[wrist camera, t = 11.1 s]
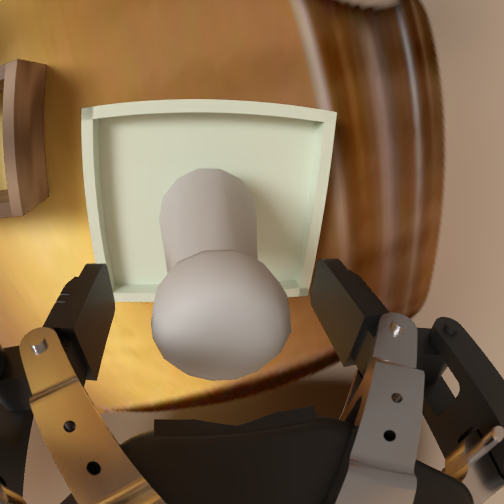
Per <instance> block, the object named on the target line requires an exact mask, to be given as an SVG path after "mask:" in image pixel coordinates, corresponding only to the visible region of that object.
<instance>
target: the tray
mask: <svg viewBox="0 0 504 504" xmlns="http://www.w3.org/2000/svg"><path fill="white" fill-rule="evenodd" d="M336 115H337V112H332V111H326V110H320V109H314V108H307V107H300V106H292V105H284V104H275V103H265V102H252V101H237V100H210V99H181V100H154V101H139V102H127V103H117V104H108V105H100V106H93V107H87V108H81V136H82V161H83V176H84V187H85V197H86V206H87V214H88V221H89V228H90V234H91V240H92V246H93V251H94V257H95V262H96V264H102V263H105V264H106V265H107V268H108V272H109V277H110V281H111V286H112V291H113V295H114V300H115V302H154V299H155V295H156V291H157V287H158V286H159V284H160V283H161V282H162V280H163V279H164V278H165V277H166V275H167V274H168V272H167V266H166V260H165V254H164V248H163V242H162V235H161V228H160V221H159V215H160V210H161V205H162V200H163V196H164V195H165V193H166V192H167V191H168V190H169V188H170V187H171V186H172V184H173V183H174V182H175V181H176V179H177V178H179V177H181V176H183V175H185V174H187V173H189V172H192V171H194V170H196V169H199V168H209V169H222V170H224V171H226V172H228V173H230V174H232V175H234V176H236V177H238V178H239V179H241V180H242V181H243V183H244V184H245V185H246V187H247V188H248V189H249V191H250V192H251V193H252V195H253V196H254V201H255V208H256V215H257V256H258V260H259V261H260V262H262V263H264V264H265V266H266V267H267V268H268V269H269V270H270V272H271V273H272V274H273V275H274V276H275V278H276V279H277V280H278V281H279V283H280V284H281V286H282V287H283V289H284V291H285V292H286V294H287V297H299V296H308V293H309V288H310V284H311V279H312V274H313V269H314V263H315V258H316V253H317V248H318V242H319V236H320V231H321V225H322V219H323V213H324V207H325V200H326V194H327V187H328V180H329V173H330V166H331V158H332V151H333V142H334V134H335V125H336Z"/></svg>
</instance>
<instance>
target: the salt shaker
mask: <svg viewBox="0 0 504 504" xmlns="http://www.w3.org/2000/svg"><path fill="white" fill-rule="evenodd" d="M159 221H160V228H161V235H162V242H163V248H164V254H165V260H166V266H167V272H168V274H167V275H166V277H165V278H164V279H163V280H162V282H161V283H160V284H159V286H158V287H157V291H156V295H155V299H154V306H153V313H152V321H151V327H152V335H153V339H154V341H155V343H156V345H157V347H158V349H159V350H160V352H161V354H162V356H163V358H164V359H166V360H167V361H168V362H170V363H171V364H172V365H174V366H175V367H177V368H178V369H180V370H181V371H182V372H184V373H186V374H188V375H190V376H194V377H198V378H203V379H207V380H211V381H214V380H232V379H238V378H241V377H243V376H246V375H249V374H251V373H254V372H257V371H258V370H260V369H261V368H262V367H263V366H265V365H266V364H267V363H269V362H270V361H271V360H272V359H274V358H275V357H276V356H277V355H278V354H279V353H280V352H281V351H282V349H283V347H284V345H285V343H286V341H287V339H288V337H289V335H290V333H291V325H290V311H289V304H288V299H287V294H286V292H285V291H284V289H283V287H282V286H281V284H280V283H279V281H278V280H277V279H276V278H275V276H274V275H273V274H272V273H271V272H270V270H269V269H268V268H267V267H266V266H265V264H264V263H262V262H260V261H259V260H258V256H257V215H256V208H255V201H254V196H253V195H252V193H251V192H250V191H249V189H248V188H247V187H246V185H245V184H244V183H243V181H242V180H241V179H239V178H238V177H236V176H234V175H232V174H230V173H228V172H226V171H224V170H222V169H209V168H199V169H196V170H194V171H192V172H189V173H187V174H185V175H183V176H181V177H179V178H177V179H176V181H175V182H174V183H173V184H172V186H171V187H170V188H169V190H168V191H167V192H166V193H165V195H164V196H163V200H162V205H161V210H160V215H159Z"/></svg>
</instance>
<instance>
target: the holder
mask: <svg viewBox="0 0 504 504" xmlns="http://www.w3.org/2000/svg"><path fill="white" fill-rule="evenodd" d="M45 75H46V65H45V64H40V63H36V62H31V61H25V60H20V59H16V60H14V61H11V62H9V63H6V64H4V65H2V66H0V92H2V91H3V148H4V161H5V172H6V180H7V188H8V189H7V190H1V191H0V218H6V217H15V216H23V215H25V214H26V213H27V212H29V211H30V210H31V209H33V208H34V207H35V206H37V205H38V204H39V203H41V202H42V201H44V200H45V199H46V198H48V197H49V192H48V183H47V174H46V163H45V147H44V90H45Z"/></svg>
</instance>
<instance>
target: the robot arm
mask: <svg viewBox="0 0 504 504" xmlns="http://www.w3.org/2000/svg"><path fill="white" fill-rule="evenodd" d="M311 305H312V307H313V309H314V311H315V313H316V315H317V317H318V319H319V321H320V322H321V324H322V326H323V328H324V330H325V332H326V334H327V335H328V337H329V339H330V341H331V343H332V345H333V347H334V349H335V351H336V353H337V354H338V356H339V358H340V360H341V362H342V364H343V366H344V367H346V366H351V365H356V366H357V367H358V369H357V371H356V373H355V376H354V379H353V382H352V386H351V389H350V392H349V395H348V398H347V401H346V404H345V407H344V410H343V413H342V415H341V417H340V419H335V418H331V417H324V416H317V414H316V412H315V409H314V407H313V406H310V407H306V408H300V409H294V410H288V411H282V412H276V413H273V414H271V415H268V416H265V417H263V418H260V419H257V420H254V421H251V422H249V423H246V424H243V425H238V426H232V425H225V424H218V423H212V422H206V421H200V420H195V419H193V420H154V430H152V431H148V432H145V433H141V434H139V435H136V436H134V437H132V438H130V439H129V440H127V441H125V442H124V443H122V444H121V445H120V444H119V442H118V441H117V439H116V438H115V437H114V435H113V434H112V433H111V431H110V430H109V428H108V426H107V425H106V424H105V422H104V421H103V419H102V417H101V416H100V414H99V412H98V411H97V409H96V408H95V406H94V404H93V403H92V401H91V399H90V397H89V396H88V394H87V392H86V390H85V389H84V384H85V380H95V381H97V377H98V373H99V369H100V364H101V360H102V356H103V352H104V349H105V345H106V341H107V337H108V334H109V330H110V327H111V323H112V320H113V317H114V312H115V300H114V295H113V291H112V286H111V281H110V277H109V272H108V268H107V265H106V264H105V263H102V264H86V265H85V267H84V269H83V270H82V272H81V274H80V275H79V277H74V278H73V279H72V280H71V281H69V282H68V283H67V284H66V285H65V287H64V288H63V290H62V292H61V295H59V297H58V299H57V301H56V303H55V304H54V306H53V308H52V310H51V312H50V314H49V316H48V318H47V319H46V321H45V323H44V325H43V327H40V328H36V329H33V330H31V331H30V332H28V333H27V334H26V335H25V336H24V337H23V338H22V340H21V342H20V345H19V346H14V347H9V348H2V347H1V345H0V504H27V503H26V502H25V500H24V499H23V483H24V472H25V463H26V455H27V449H28V442H29V436H30V431H31V426H32V421H33V416H34V417H35V420H36V422H37V425H38V427H39V430H40V432H41V434H42V437H43V439H44V441H45V443H46V446H47V448H48V450H49V452H50V454H51V456H52V458H53V460H54V462H55V464H56V466H57V468H58V470H59V472H60V474H61V476H62V478H63V479H64V481H65V483H66V485H67V486H68V488H69V490H70V491H71V494H70V495H69V496H68V497H67V498H66V499H65V500H64V501H63V502H62V503H61V504H482V503H483V502H485V501H486V500H487V499H488V498H490V497H491V496H492V495H493V494H494V493H496V492H497V491H498V490H499V489H501V488H503V487H504V380H503V378H502V377H501V375H500V374H499V373H498V371H497V370H496V369H495V367H494V366H493V364H492V363H491V362H490V361H489V359H488V358H487V357H486V355H485V354H484V353H483V352H482V350H481V349H480V348H479V346H478V345H477V344H476V343H475V341H474V340H473V339H472V338H471V337H470V335H469V334H468V333H467V332H466V331H465V329H464V328H463V327H462V326H461V325H460V324H459V323H458V322H456V321H455V320H453V319H451V318H447V317H440V318H438V319H436V321H435V323H434V325H433V327H432V329H427V328H417V327H416V325H415V324H414V322H413V321H412V320H411V319H409V318H408V317H406V316H404V315H402V314H399V313H393V312H389V311H388V310H387V309H386V307H385V306H384V305H383V304H382V302H381V301H380V300H379V299H378V298H377V296H376V295H375V294H374V293H372V290H371V289H370V288H369V287H368V286H367V284H366V283H365V282H364V281H363V280H362V278H361V277H360V276H358V275H357V274H355V273H353V272H352V271H350V270H348V269H347V268H346V267H345V266H344V265H343V263H342V262H341V261H340V260H339V259H320V260H319V261H318V262H317V265H316V270H315V275H314V280H313V284H312V289H311ZM447 367H449V369H450V370H451V372H452V373H453V374H454V376H455V378H456V379H457V380H458V382H459V385H460V392H459V394H458V396H457V397H456V398H455V397H454V395H453V394H452V392H451V390H450V389H449V387H448V386H447V384H446V383H445V381H444V379H443V378H442V376H441V375H442V374H443V372H444V371H445V370H446V368H447ZM422 414H423V416H424V418H425V419H426V421H427V423H428V425H429V427H430V429H431V431H432V433H433V435H434V437H435V439H436V441H437V443H438V445H439V447H440V449H441V451H442V453H443V455H444V457H445V467H444V468H443V469H442V471H439V470H436V469H434V468H432V467H430V466H428V465H426V464H424V463H422V462H420V461H418V460H416V455H417V449H418V442H419V435H420V428H421V419H422Z"/></svg>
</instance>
